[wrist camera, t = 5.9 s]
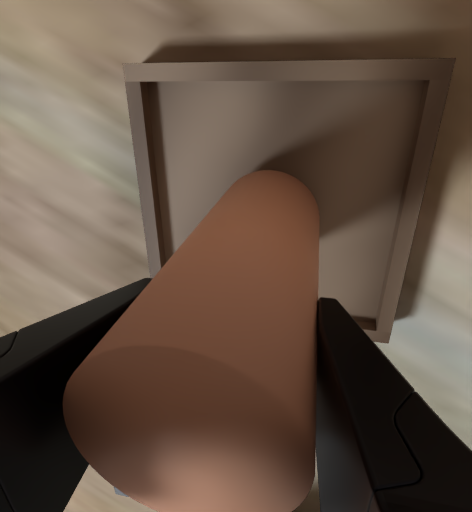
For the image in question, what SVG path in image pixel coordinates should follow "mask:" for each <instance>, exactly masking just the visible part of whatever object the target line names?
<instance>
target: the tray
mask: <svg viewBox="0 0 472 512" xmlns="http://www.w3.org/2000/svg"><path fill="white" fill-rule="evenodd" d="M455 59H456V58H438V59H374V60H311V61H248V62H184V63H123V70H124V78H125V86H126V93H127V101H128V109H129V116H130V124H131V132H132V139H133V147H134V155H135V162H136V170H137V178H138V185H139V193H140V201H141V208H142V216H143V224H144V231H145V239H146V247H147V254H148V262H149V270H150V277H151V278H152V279H153V278H154V277H155V275H156V274H157V273H158V272H159V271H160V269H161V268H162V267H163V266H164V265H165V264H166V262H167V261H168V260H169V259H170V258H171V256H172V255H173V254H174V253H175V252H176V251H177V249H178V248H179V247H180V246H181V245H182V243H183V242H184V241H185V240H186V239H187V238H188V236H189V235H190V234H191V233H192V232H193V230H194V229H195V228H196V227H197V226H198V224H199V223H200V222H201V221H202V220H203V219H204V217H205V216H206V215H207V214H208V213H209V211H210V210H211V209H212V208H213V207H214V206H215V204H216V203H217V202H218V201H219V200H220V198H221V197H222V196H223V195H224V194H225V192H226V191H227V190H228V189H229V188H230V187H231V186H232V184H233V183H235V182H236V181H237V180H238V179H240V178H241V177H243V176H245V175H247V174H249V173H252V172H256V171H261V170H274V171H280V172H284V173H286V174H289V175H291V176H293V177H295V178H297V179H298V180H299V181H301V182H302V183H303V184H304V185H305V186H306V187H307V188H308V189H309V190H310V192H311V193H312V195H313V196H314V198H315V200H316V203H317V205H318V209H319V216H320V228H319V283H318V299H319V298H320V297H326V298H335V299H337V300H338V301H339V303H340V304H341V305H342V306H343V307H344V308H345V310H346V311H347V312H348V313H349V314H350V315H351V316H352V318H353V319H354V320H355V321H356V322H357V323H358V325H359V326H360V327H361V328H362V329H363V330H364V332H365V333H366V334H367V335H368V336H369V337H370V338H371V340H372V341H373V342H381V343H389V339H390V335H391V330H392V326H393V322H394V318H395V313H396V309H397V305H398V301H399V296H400V292H401V288H402V284H403V280H404V275H405V271H406V267H407V263H408V258H409V254H410V250H411V246H412V241H413V237H414V233H415V229H416V224H417V220H418V216H419V212H420V207H421V203H422V199H423V195H424V191H425V186H426V182H427V178H428V174H429V169H430V165H431V161H432V157H433V152H434V148H435V144H436V140H437V135H438V131H439V127H440V123H441V118H442V114H443V110H444V106H445V102H446V97H447V93H448V89H449V85H450V80H451V76H452V72H453V68H454V63H455Z"/></svg>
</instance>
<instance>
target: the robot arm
mask: <svg viewBox="0 0 472 512" xmlns="http://www.w3.org/2000/svg"><path fill="white" fill-rule="evenodd" d="M151 280H152V278H144V279H142V280H139V281H137V282H134V283H132V284H129V285H127V286H124V287H122V288H120V289H117V290H115V291H112V292H110V293H107V294H105V295H103V296H100V297H98V298H95V299H93V300H90V301H88V302H86V303H83V304H81V305H78V306H76V307H73V308H71V309H68V310H66V311H64V312H61V313H59V314H56V315H54V316H51V317H49V318H47V319H44V320H42V321H39V322H37V323H34V324H32V325H29V326H27V327H25V328H22V329H20V330H19V331H18V332H17V331H15V332H12V333H10V334H7V335H5V336H2V337H0V512H63V511H64V509H65V507H66V505H67V504H68V502H69V500H70V498H71V496H72V494H73V493H74V491H75V489H76V487H77V485H78V483H79V482H80V480H81V478H82V476H83V474H84V472H85V471H86V469H87V467H88V465H89V463H88V462H87V461H86V459H85V458H84V457H83V456H82V454H81V453H80V451H79V450H78V449H77V447H76V446H75V444H74V442H73V440H72V438H71V437H70V434H69V432H68V429H67V427H66V423H65V419H64V415H63V395H64V391H65V388H66V385H67V382H68V381H69V379H70V377H71V376H72V374H73V373H74V371H75V370H76V369H77V368H78V367H79V365H80V364H81V363H82V362H83V361H84V360H85V358H86V357H87V356H88V355H89V354H90V352H91V351H92V350H93V349H94V348H95V347H96V345H97V344H98V343H99V342H100V341H101V339H102V338H103V337H104V336H105V335H106V333H107V332H108V331H109V330H110V329H111V328H112V326H113V325H114V324H115V323H116V322H117V320H118V319H119V318H120V317H121V316H122V315H123V313H124V312H125V311H126V310H127V309H128V307H129V306H130V305H131V304H132V303H133V301H134V300H135V299H136V298H137V297H138V296H139V294H140V293H141V292H142V291H143V290H144V288H145V287H146V286H147V285H148V284H149V283H150V281H151ZM316 457H317V470H318V484H319V497H320V510H321V512H472V451H471V450H470V449H469V448H468V447H467V446H466V445H465V444H464V443H463V442H462V441H461V440H460V439H459V438H458V437H457V436H456V434H455V433H454V432H453V431H452V430H451V429H450V428H449V427H448V426H447V425H446V424H445V423H444V422H443V421H442V420H441V419H440V418H439V416H438V415H437V414H436V413H435V412H434V411H433V410H432V409H431V408H430V407H429V405H428V404H427V403H426V402H425V401H424V400H423V398H422V397H421V396H420V395H419V394H418V393H417V392H415V390H414V388H413V387H412V386H411V385H410V384H409V382H408V381H407V380H406V379H405V378H404V377H403V376H402V374H401V373H400V372H399V371H398V370H397V369H396V367H395V366H394V365H393V364H392V363H391V362H390V360H389V359H388V358H387V357H386V356H385V355H384V354H383V352H382V351H381V350H380V349H379V348H378V347H377V345H376V344H375V343H374V342H373V341H372V340H371V338H370V337H369V336H368V335H367V334H366V333H365V332H364V330H363V329H362V328H361V327H360V326H359V325H358V323H357V322H356V321H355V320H354V319H353V318H352V316H351V315H350V314H349V313H348V312H347V311H346V310H345V308H344V307H343V306H342V305H341V304H340V303H339V301H338V300H337V299H335V298H326V297H320V298H319V299H318V321H317V395H316Z"/></svg>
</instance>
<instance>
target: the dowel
mask: <svg viewBox="0 0 472 512" xmlns="http://www.w3.org/2000/svg"><path fill="white" fill-rule="evenodd" d="M319 228H320V216H319V209H318V205H317V203H316V200H315V198H314V196H313V195H312V193H311V192H310V190H309V189H308V188H307V187H306V186H305V185H304V184H303V183H302V182H301V181H299V180H298V179H297V178H295V177H293V176H291V175H289V174H286V173H284V172H280V171H274V170H261V171H256V172H252V173H249V174H247V175H245V176H243V177H241V178H240V179H238V180H237V181H236V182H235V183H233V184H232V186H231V187H230V188H229V189H228V190H227V191H226V192H225V194H224V195H223V196H222V197H221V198H220V200H219V201H218V202H217V203H216V204H215V206H214V207H213V208H212V209H211V210H210V211H209V213H208V214H207V215H206V216H205V217H204V219H203V220H202V221H201V222H200V223H199V224H198V226H197V227H196V228H195V229H194V230H193V232H192V233H191V234H190V235H189V236H188V238H187V239H186V240H185V241H184V242H183V243H182V245H181V246H180V247H179V248H178V249H177V251H176V252H175V253H174V254H173V255H172V256H171V258H170V259H169V260H168V261H167V262H166V264H165V265H164V266H163V267H162V268H161V269H160V271H159V272H158V273H157V274H156V275H155V277H154V278H153V279H152V280H151V281H150V283H149V284H148V285H147V286H146V287H145V288H144V290H143V291H142V292H141V293H140V294H139V296H138V297H137V298H136V299H135V300H134V301H133V303H132V304H131V305H130V306H129V307H128V309H127V310H126V311H125V312H124V313H123V315H122V316H121V317H120V318H119V319H118V320H117V322H116V323H115V324H114V325H113V326H112V328H111V329H110V330H109V331H108V332H107V333H106V335H105V336H104V337H103V338H102V339H101V341H100V342H99V343H98V344H97V345H96V347H95V348H94V349H93V350H92V351H91V352H90V354H89V355H88V356H87V357H86V358H85V360H84V361H83V362H82V363H81V364H80V365H79V367H78V368H77V369H76V370H75V371H74V373H73V374H72V376H71V377H70V379H69V381H68V382H67V385H66V388H65V391H64V395H63V415H64V419H65V423H66V427H67V429H68V432H69V434H70V437H71V438H72V440H73V442H74V444H75V446H76V447H77V449H78V450H79V451H80V453H81V454H82V456H83V457H84V458H85V459H86V461H87V462H88V463H89V464H90V465H91V466H92V467H93V468H94V469H95V470H96V471H97V472H98V473H99V474H100V475H101V476H102V477H103V478H104V479H105V480H107V481H108V482H109V483H110V484H111V485H113V486H114V487H116V488H117V489H118V490H120V491H121V492H123V493H124V494H126V495H127V496H129V497H131V498H132V499H134V500H136V501H137V502H139V503H141V504H143V505H145V506H147V507H149V508H151V509H154V510H156V511H158V512H292V511H293V510H294V509H296V508H297V507H298V506H299V505H300V504H301V503H302V502H303V501H304V499H305V498H306V497H307V495H308V493H309V491H310V490H311V488H312V485H313V481H314V477H315V450H316V395H317V321H318V283H319Z"/></svg>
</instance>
